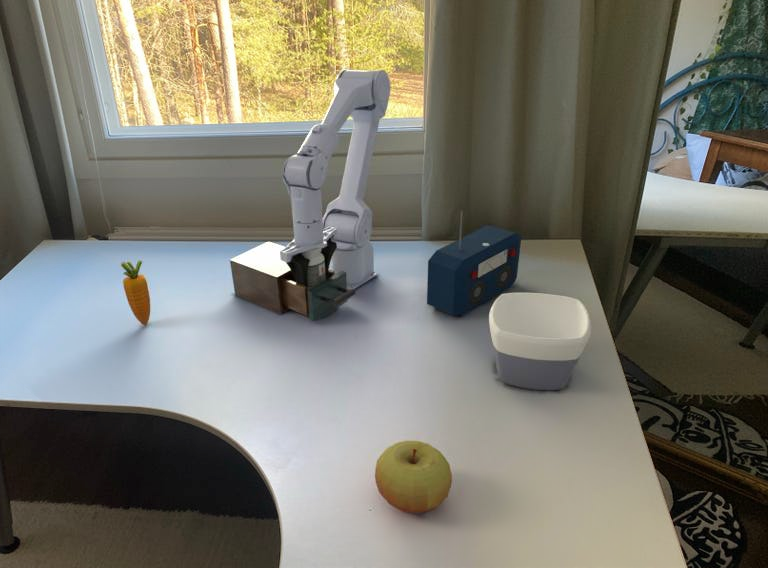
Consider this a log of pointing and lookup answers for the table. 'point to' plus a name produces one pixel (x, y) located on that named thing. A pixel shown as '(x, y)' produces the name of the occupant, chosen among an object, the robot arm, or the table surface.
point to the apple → (413, 476)
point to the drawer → (316, 295)
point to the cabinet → (260, 276)
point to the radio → (472, 269)
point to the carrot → (137, 292)
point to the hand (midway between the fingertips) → (312, 281)
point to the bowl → (538, 338)
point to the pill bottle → (315, 267)
